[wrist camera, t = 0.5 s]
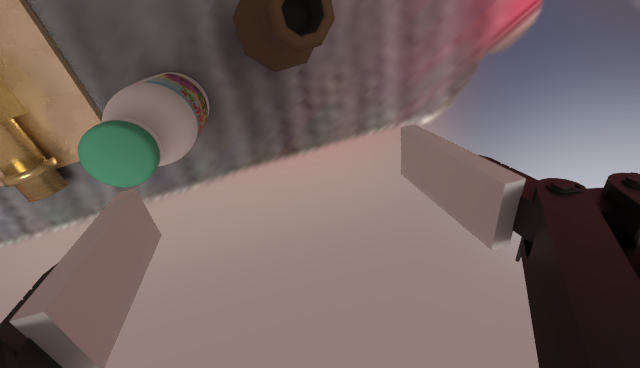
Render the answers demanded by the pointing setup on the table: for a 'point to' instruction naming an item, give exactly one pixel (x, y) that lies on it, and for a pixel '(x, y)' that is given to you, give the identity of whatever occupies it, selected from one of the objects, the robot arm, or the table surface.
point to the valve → (37, 105)
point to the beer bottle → (282, 29)
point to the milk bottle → (144, 129)
